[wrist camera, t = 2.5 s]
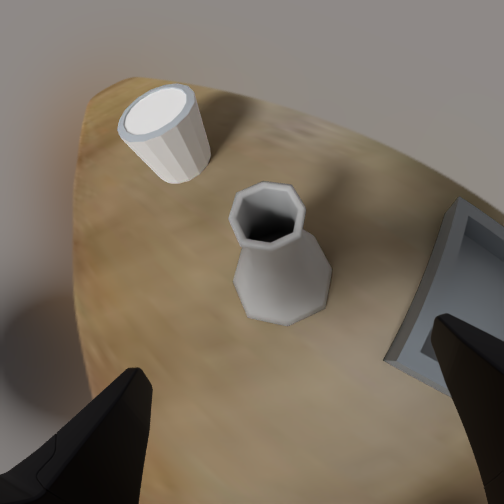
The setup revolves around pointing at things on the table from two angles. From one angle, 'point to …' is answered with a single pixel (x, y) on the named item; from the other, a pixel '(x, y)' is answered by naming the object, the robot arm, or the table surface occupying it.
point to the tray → (454, 290)
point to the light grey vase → (277, 256)
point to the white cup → (167, 132)
